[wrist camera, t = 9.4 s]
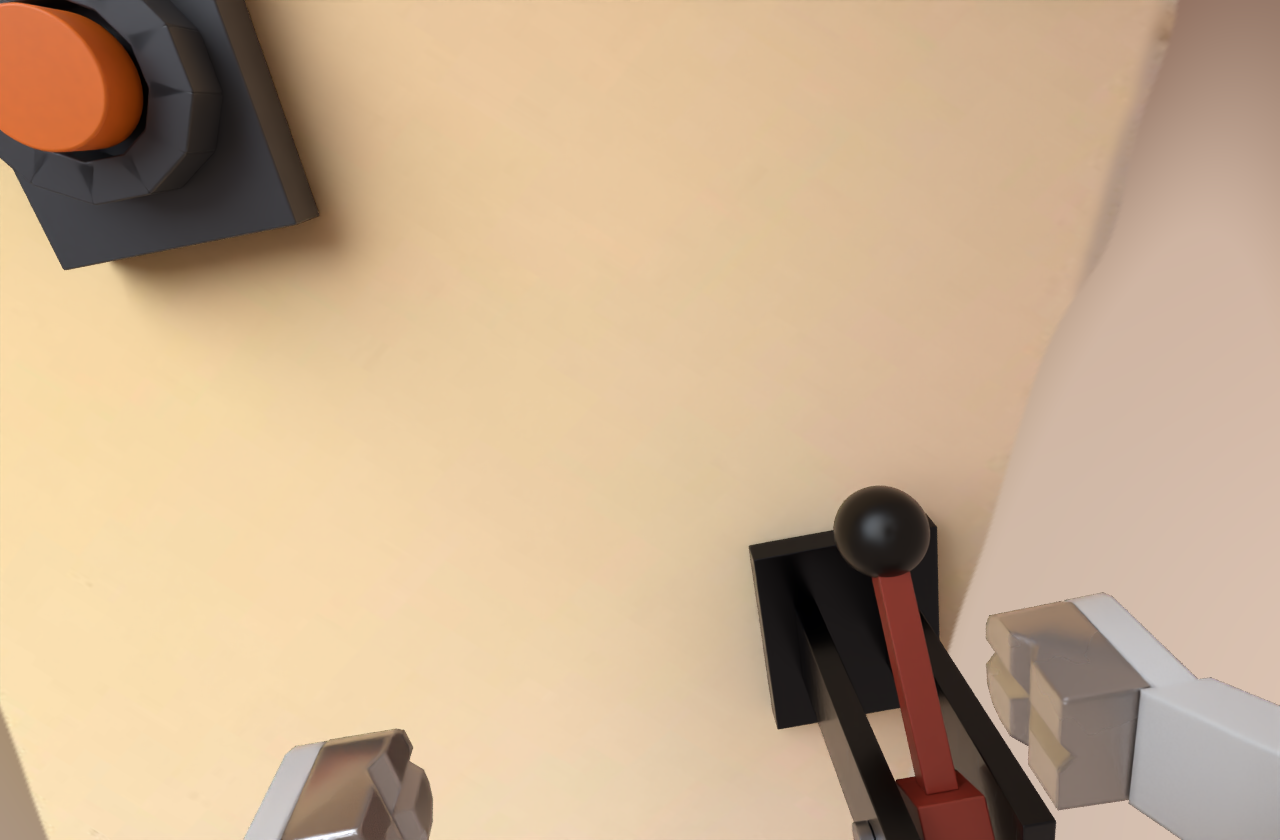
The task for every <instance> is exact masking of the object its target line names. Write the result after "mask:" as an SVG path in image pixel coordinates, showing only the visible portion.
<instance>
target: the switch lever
mask: <svg viewBox="0 0 1280 840" xmlns="http://www.w3.org/2000/svg"><path fill="white" fill-rule="evenodd" d="M834 539H835V543H836V546H837V548H838V551H839V552H840V554H841V556H842V557H843V558H844V560H845V561H846V562H847V563H848V564H849V565H850V566H851V567H853V568H854V569H855V570H857V571H859V572H860V573H862V574H864V575H867V576H870V577H872V581H873V586H874V590H875V595H876V599H877V604H878V609H879V613H880V618H881V622H882V627H883V631H884V636H885V640H886V645H887V650H888V654H889V659H890V663H891V668H892V672H893V677H894V681H895V686H896V691H897V695H898V700H899V704H900V709H901V713H902V718H903V722H904V727H905V731H906V736H907V741H908V745H909V750H910V754H911V759H912V763H913V768H914V772H915V777H909V778H903V779H897V780H896V785H897V787H898V789H899V791H900V794H901V796H902V798H903V800H904V803H905V805H906V807H907V810H908V812H909V814H910V816H911V819H912V821H913V823H914V825H915V828H916V830H917V832H918V834H919V837H920V839H921V840H995V837H994V833H993V828H992V824H991V820H990V815H989V811H988V807H987V802H986V798H985V796H984V795H983V794H982V793H981V792H980V791H979V790H978V789H977V788H976V787H975V786H974V785H973V784H971V783H970V782H969V781H968V780H967V779H966V778H965V777H964V776H963V775H962V774H961V773H960V772H959V771H958V770H956V769H954V764H953V760H952V755H951V751H950V747H949V742H948V738H947V733H946V729H945V725H944V720H943V716H942V711H941V707H940V702H939V698H938V694H937V689H936V685H935V680H934V676H933V672H932V667H931V663H930V658H929V654H928V649H927V645H926V641H925V636H924V632H923V627H922V623H921V618H920V614H919V610H918V605H917V601H916V596H915V592H914V588H913V583H912V579H911V574H910V571H911V570H912V569H914V568H915V567H916V566H917V565H918V564H919V563H920V562H921V560H922V559H923V557H924V556H925V554H926V552H927V549H928V546H929V542H930V528H929V523H928V519H927V517H926V514H925V512H924V511H923V509H922V507H921V506H920V505H919V504H918V503H917V502H916V501H915V500H914V499H913V498H912V497H911V496H909V495H908V494H906V493H905V492H903V491H901V490H899V489H896V488H892V487H887V486H871V487H867V488H863V489H861V490H859V491H857V492H855V493H853V494H852V495H850V496H849V497H848V498H847V499H846V500H845V501H844V502H843V504H842V505H841V506H840V508H839V510H838V512H837V514H836V517H835V521H834Z"/></svg>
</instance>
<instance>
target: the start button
mask: <svg viewBox="0 0 1280 840" xmlns="http://www.w3.org/2000/svg"><path fill="white" fill-rule="evenodd" d="M142 109H143V89H142V84H141V80H140V77H139V74H138V71H137V69H136V67H135V65H134V62H133V61H132V59H131V57H130V56H129V54H128V52H127V51H126V50H125V49H124V47H123V46H122V45H121V44H120V42H119V41H118V40H117V39H116V38H115V37H114V36H113V35H112V34H111V33H109V32H108V31H107V30H106V29H105V28H103V27H102V26H100V25H99V24H98V23H96V22H94V21H92V20H91V19H89V18H86V17H84V16H82V15H79V14H76V13H73V12H69V11H63V10H58V9H53V8H47V7H42V6H37V5H31V4H25V3H19V2H8V3H0V130H1V131H2V132H4V133H5V134H6V135H8V136H9V137H11V138H13V139H14V140H16V141H18V142H20V143H22V144H24V145H26V146H29V147H31V148H34V149H38V150H41V151H47V152H73V151H86V150H99V149H106V148H109V147H113V146H115V145H117V144H119V143H121V142H123V141H124V140H125V139H127V138H128V137H129V136H130V135H131V134H132V132H133V131H134V130H135V128H136V126H137V125H138V123H139V121H140V117H141V114H142Z"/></svg>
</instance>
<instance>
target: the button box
mask: <svg viewBox="0 0 1280 840" xmlns="http://www.w3.org/2000/svg"><path fill="white" fill-rule="evenodd" d="M8 2H19V3H25V4H31V5H37V6H42V7H47V8H53V9H58V10H63V11H69V12H73V13H76V14H79V15H82V16H84V17H86V18H89V19H91V20H92V21H94V22H96V23H98V24H99V25H100V26H102V27H103V28H105V29H106V30H107V31H108V32H109V33H111V34H112V35H113V36H114V37H115V38H116V39H117V40H118V41H119V42H120V44H121V45H122V46H123V47H124V49H125V50H126V51H127V52H128V54H129V56H130V57H131V59H132V61H133V62H134V65H135V67H136V69H137V71H138V74H139V77H140V80H141V84H142V89H143V109H142V114H141V117H140V121H139V123H138V125H137V126H136V128H135V130H134V131H133V132H132V134H131V135H130V136H129V137H128V138H127V139H125V140H124V141H123V142H121V143H119V144H117V145H115V146H113V147H109V148H106V149H99V150H86V151H73V152H47V151H41V150H38V149H34V148H31V147H29V146H26V145H24V144H22V143H20V142H18V141H16V140H14V139H13V138H11V137H9V136H8V135H6V134H5V133H4V132H2V131H1V130H0V158H1V159H2V160H3V161H4V162H6V163H7V164H8V165H9V166H10V167H11V168H13V170H14V172H15V174H16V176H17V178H18V180H19V182H20V184H21V186H22V188H23V190H24V192H25V194H26V196H27V198H28V200H29V202H30V204H31V206H32V208H33V210H34V212H35V214H36V216H37V218H38V220H39V222H40V224H41V226H42V228H43V230H44V232H45V234H46V236H47V238H48V240H49V242H50V244H51V246H52V248H53V250H54V252H55V254H56V256H57V258H58V260H59V262H60V264H61V266H62V268H63V269H64V270H70V269H75V268H80V267H85V266H90V265H95V264H100V263H105V262H110V261H115V260H120V259H125V258H130V257H135V256H140V255H145V254H150V253H155V252H161V251H166V250H171V249H176V248H181V247H186V246H191V245H196V244H201V243H206V242H211V241H216V240H221V239H226V238H231V237H236V236H241V235H247V234H252V233H257V232H262V231H267V230H272V229H277V228H282V227H287V226H292V225H296V224H299V223H302V222H304V221H307V220H310V219H312V218H315V217H318V216H319V213H318V210H317V207H316V204H315V201H314V198H313V195H312V193H311V190H310V187H309V184H308V181H307V178H306V175H305V173H304V170H303V167H302V164H301V161H300V158H299V155H298V153H297V150H296V147H295V144H294V141H293V138H292V135H291V133H290V130H289V127H288V124H287V121H286V118H285V115H284V113H283V110H282V107H281V104H280V101H279V98H278V95H277V93H276V90H275V87H274V84H273V81H272V78H271V75H270V73H269V70H268V67H267V64H266V61H265V58H264V55H263V53H262V50H261V47H260V44H259V41H258V38H257V35H256V33H255V30H254V27H253V24H252V21H251V18H250V15H249V13H248V10H247V7H246V4H245V1H244V0H0V3H8Z"/></svg>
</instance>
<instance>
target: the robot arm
mask: <svg viewBox="0 0 1280 840" xmlns="http://www.w3.org/2000/svg"><path fill="white" fill-rule="evenodd" d="M986 639H987V641H988V642H989V644H990V645H991V647H992V648H993V650H994V651H995V653H994V655H993V656H992V657H991V659H990V660H989V661H988V663H987V664H986V668H987V684H988V688H989V692H990V695H991V699H992V703H993V705H994V707H995V710H996V712H997V714H998V716H999V718H1000V720H1001V722H1002V724H1003V725H1004V727H1005V728H1006V730H1007V732H1008V733H1009V735H1010V736H1011V737H1013V738H1015V739H1016V740H1018V741H1020V742H1022V743H1024V744H1025V745H1027V746H1029V752H1028V754H1029V755H1028V756H1029V757H1028V764H1029V766H1030V768H1031V769H1032V771H1033V772H1034V774H1035V776H1036V777H1037V779H1038V780H1039V782H1040V783H1041V785H1042V786H1043V788H1044V790H1045V791H1046V793H1047V794H1048V796H1049V797H1050V799H1051V800H1052V802H1053V804H1054V805H1055V807H1056V808H1057V810H1063V809H1070V808H1077V807H1084V806H1090V805H1096V804H1104V803H1111V802H1117V801H1124V800H1129V804H1130V805H1132V806H1133V807H1134V808H1136V809H1137V810H1139V811H1140V812H1142V813H1143V814H1145V815H1146V816H1148V817H1149V818H1151V819H1152V820H1154V821H1155V822H1157V823H1158V824H1159V825H1161V826H1163V827H1164V828H1165V829H1167V830H1168V831H1170V832H1171V833H1173V834H1174V835H1176V836H1177V837H1178V838H1180V839H1181V840H1280V705H1277V704H1275V703H1272V702H1270V701H1268V700H1265V699H1262V698H1260V697H1258V696H1255V695H1253V694H1250V693H1248V692H1246V691H1243V690H1241V689H1238V688H1236V687H1233V686H1231V685H1228V684H1226V683H1223V682H1221V681H1218V680H1216V679H1214V678H1211V677H1210V678H1203V679H1198V678H1197V677H1196V676H1195V675H1193V674H1192V673H1191V672H1190V671H1189V670H1188V669H1187V668H1186V667H1185V666H1184V665H1183V664H1182V663H1181V662H1180V661H1179V660H1178V659H1177V658H1176V657H1175V656H1174V655H1172V653H1171V652H1170V651H1169V650H1168V649H1166V648H1165V647H1164V646H1163V645H1162V644H1161V643H1160V642H1159V641H1158V640H1157V639H1156V638H1155V637H1154V636H1153V635H1152V634H1151V633H1150V632H1149V631H1148V630H1147V629H1146V628H1145V627H1144V626H1143V625H1142V624H1140V622H1138V621H1137V620H1136V619H1135V618H1134V617H1133V616H1132V615H1131V614H1130V613H1129V612H1128V611H1127V610H1126V609H1125V608H1124V607H1123V606H1122V605H1121V604H1120V603H1119V602H1118V601H1117V600H1116V599H1114V597H1112V596H1110V595H1108V594H1106V593H1103V592H1102V593H1097V594H1093V595H1088V596H1083V597H1078V598H1073V599H1068V600H1065V601H1063V602H1061V601H1059V602H1054V603H1050V604H1044V605H1039V606H1034V607H1029V608H1025V609H1019V610H1014V611H1010V612H1004V613H999V614H994V615H989V618H988V620H987V623H986ZM412 749H413V746H412V744H411V742H410V740H409V738H408V736H407V734H406V732H405V730H401V729H391V730H385V731H379V732H373V733H367V734H361V735H355V736H349V737H343V738H337V739H330V740H329V741H324V742H317V743H311V744H305V745H298V746H295V747H294V748H292V749H291V750H290V751H289V752H288V753H287V754H286V755H285V756H284V758H283V760H282V762H281V764H280V766H279V768H278V770H277V772H276V774H275V776H274V778H273V780H272V783H271V785H270V787H269V789H268V791H267V793H266V795H265V797H264V799H263V801H262V803H261V805H260V807H259V809H258V811H257V813H256V815H255V817H254V819H253V821H252V823H251V825H250V827H249V829H248V831H247V833H246V835H245V837H244V839H243V840H429V836H430V831H431V827H432V822H433V797H432V793H431V788H430V783H429V780H428V778H427V776H426V774H425V771H424V769H422V768H420V767H419V766H417V765H415V764H413V763H412V762H410V761H409V760H410V756H411V753H412Z"/></svg>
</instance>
